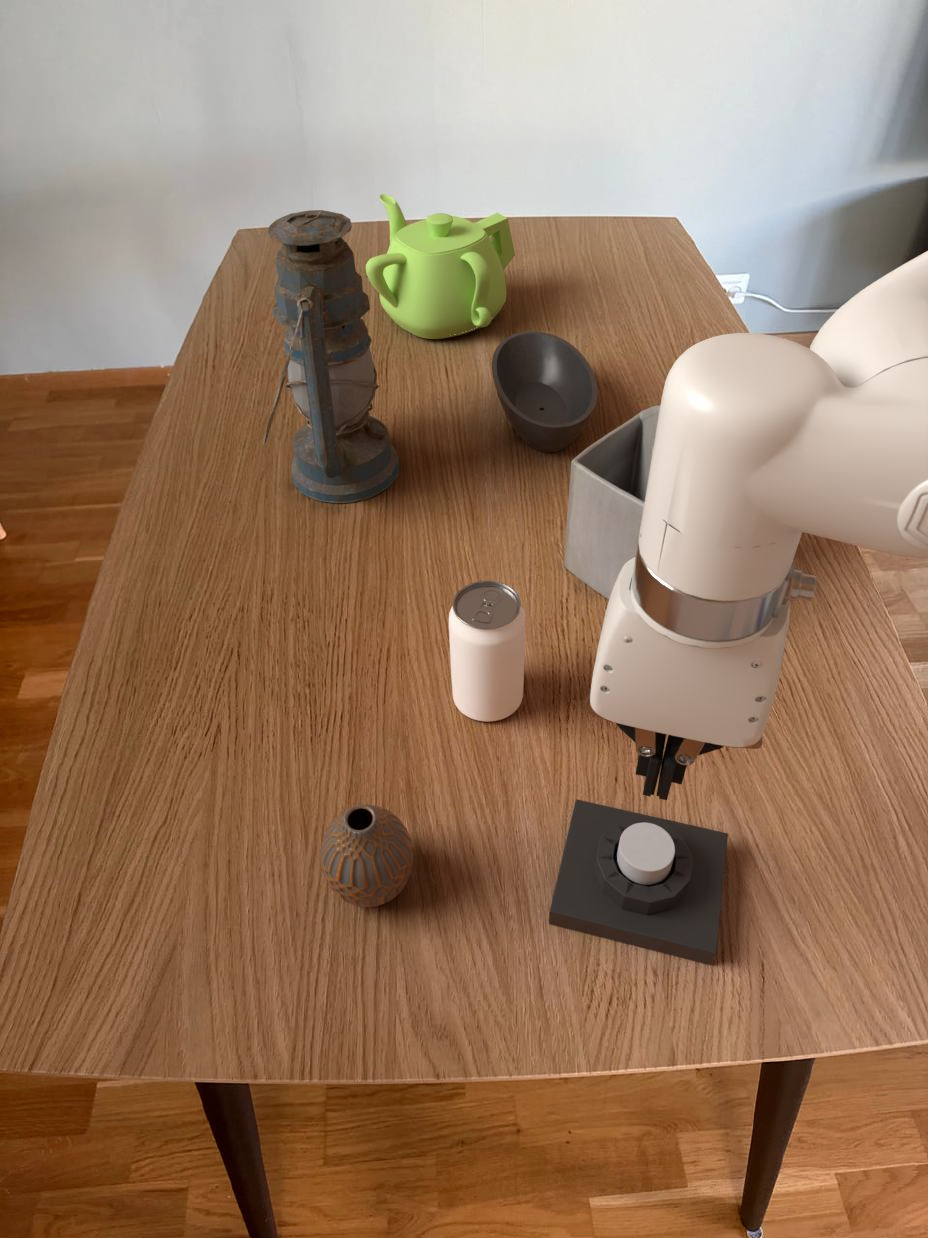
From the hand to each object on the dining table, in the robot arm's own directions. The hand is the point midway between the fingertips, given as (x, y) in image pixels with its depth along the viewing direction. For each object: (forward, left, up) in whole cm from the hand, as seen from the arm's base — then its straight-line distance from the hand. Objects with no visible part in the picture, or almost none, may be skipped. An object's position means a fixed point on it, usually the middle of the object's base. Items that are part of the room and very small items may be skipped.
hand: (657, 779), depth 60 cm
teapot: (+42, -84, -14) cm, 95 cm away
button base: (0, 0, -14) cm, 14 cm away
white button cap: (0, 0, -11) cm, 11 cm away
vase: (+20, +5, -14) cm, 25 cm away
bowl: (+21, -60, -14) cm, 65 cm away
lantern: (+42, -44, -14) cm, 62 cm away
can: (+16, -15, -14) cm, 26 cm away
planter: (+9, -35, -14) cm, 39 cm away
